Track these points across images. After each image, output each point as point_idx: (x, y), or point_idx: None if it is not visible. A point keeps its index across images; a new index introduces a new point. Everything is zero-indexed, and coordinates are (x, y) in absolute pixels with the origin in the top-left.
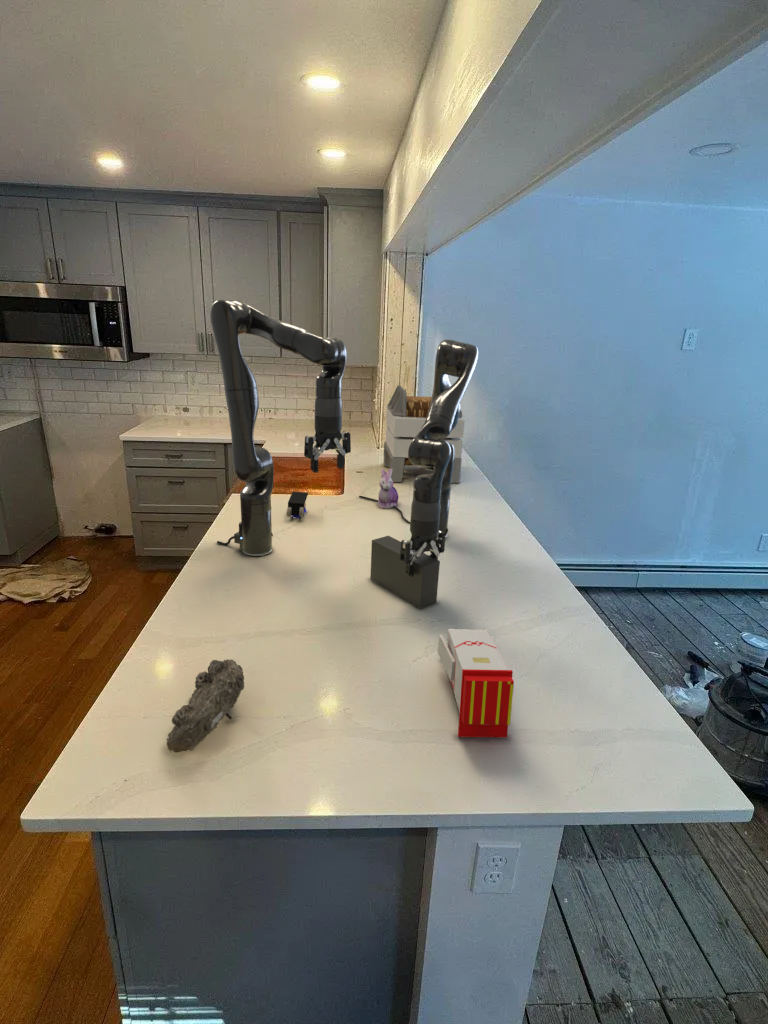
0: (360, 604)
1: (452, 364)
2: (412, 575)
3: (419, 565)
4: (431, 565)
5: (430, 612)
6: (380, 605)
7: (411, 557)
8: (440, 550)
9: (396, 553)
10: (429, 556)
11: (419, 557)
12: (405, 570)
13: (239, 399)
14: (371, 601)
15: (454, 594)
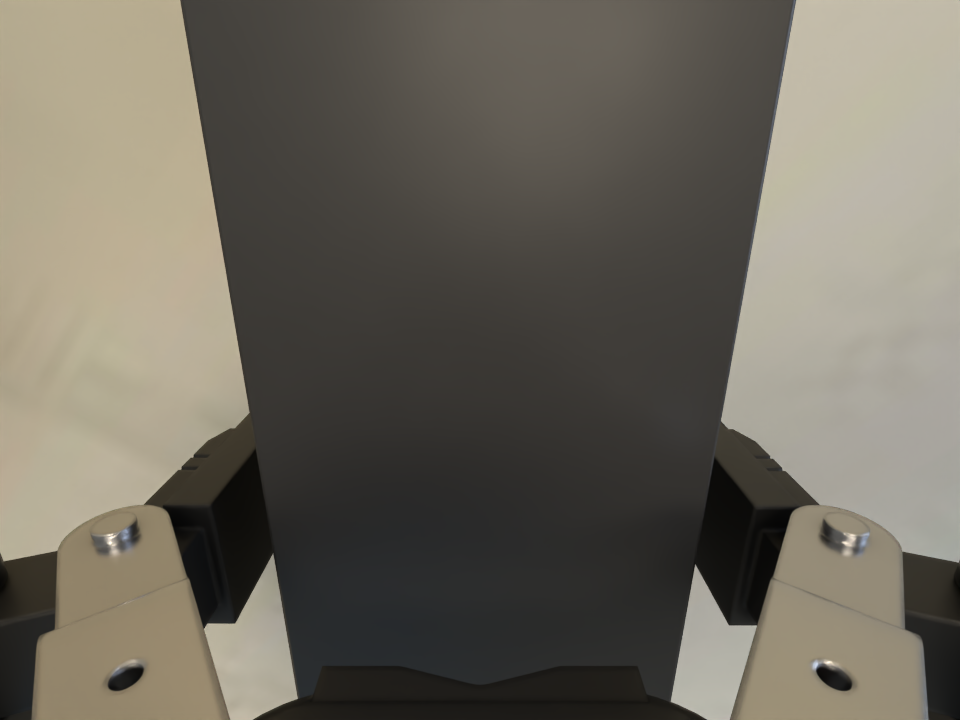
0: (35, 101)
1: None
2: None
3: (296, 672)
4: None
5: None
6: (182, 214)
7: (354, 426)
8: (937, 704)
9: (193, 28)
10: (672, 566)
11: (488, 506)
12: (194, 457)
13: None
14: (144, 115)
15: (752, 404)
